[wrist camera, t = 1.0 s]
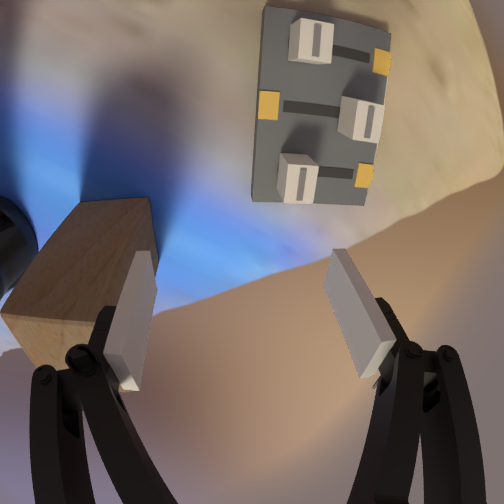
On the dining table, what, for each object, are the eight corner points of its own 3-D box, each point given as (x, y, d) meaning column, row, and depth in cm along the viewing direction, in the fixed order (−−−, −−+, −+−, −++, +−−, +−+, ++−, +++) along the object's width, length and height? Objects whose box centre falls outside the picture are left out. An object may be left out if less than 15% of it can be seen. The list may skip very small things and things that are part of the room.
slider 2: (276, 187, 31) (284, 203, 28) (280, 152, 29) (288, 164, 26) (303, 188, 32) (313, 204, 28) (307, 154, 29) (319, 166, 26)
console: (250, 194, 34) (252, 202, 32) (262, 10, 22) (265, 5, 20) (360, 199, 36) (367, 206, 34) (385, 35, 23) (394, 34, 22)
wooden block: (95, 263, 37) (46, 382, 21) (78, 200, 32) (-4, 312, 15) (160, 262, 39) (133, 394, 22) (150, 195, 33) (95, 322, 16)
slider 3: (337, 131, 28) (353, 140, 25) (341, 95, 26) (358, 100, 22) (361, 134, 28) (379, 144, 25) (366, 100, 26) (386, 106, 23)
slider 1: (287, 60, 23) (298, 58, 20) (290, 24, 21) (301, 17, 18) (317, 64, 24) (331, 63, 20) (319, 29, 22) (334, 23, 18)
